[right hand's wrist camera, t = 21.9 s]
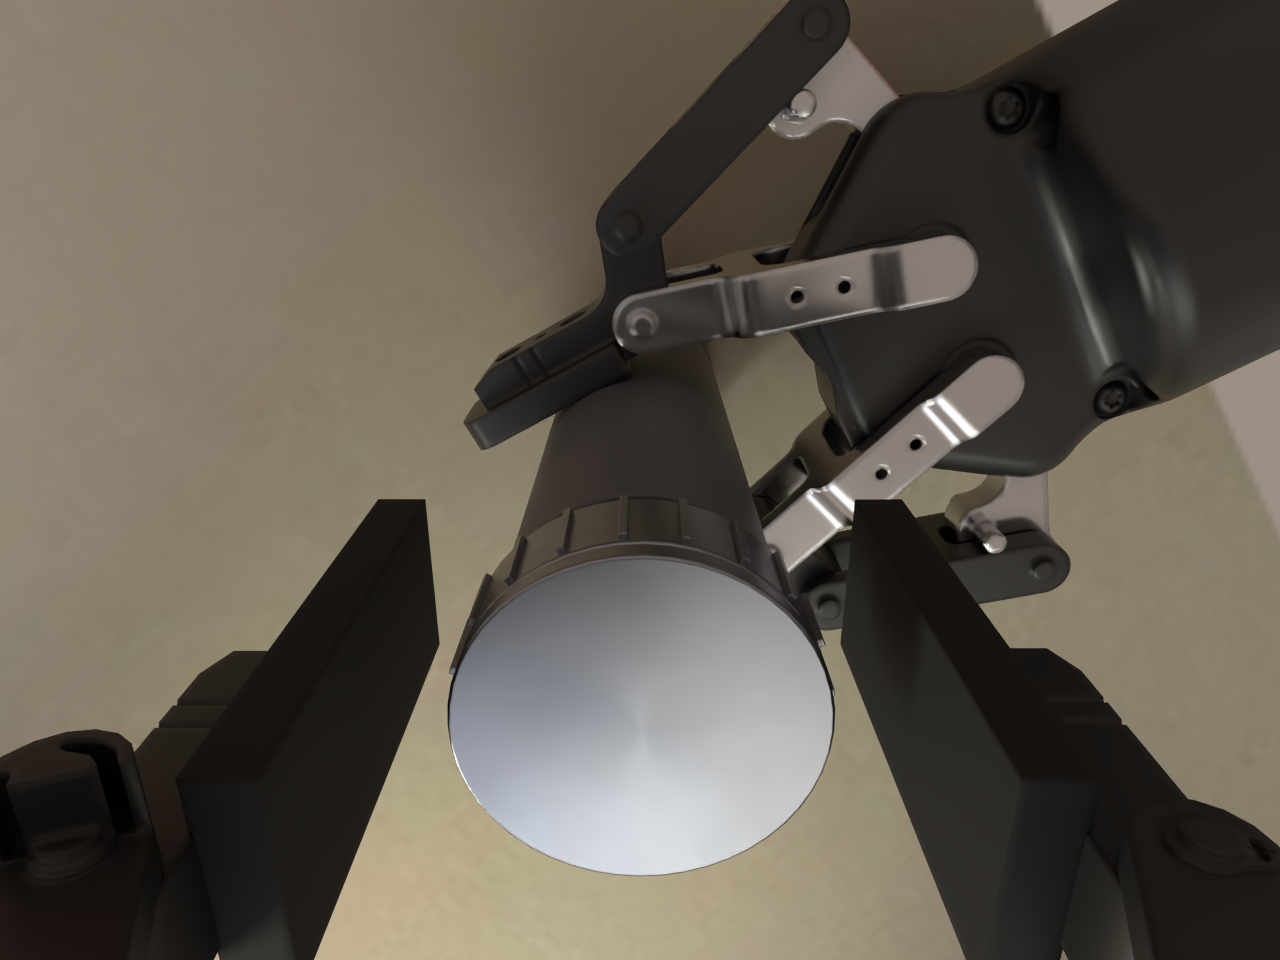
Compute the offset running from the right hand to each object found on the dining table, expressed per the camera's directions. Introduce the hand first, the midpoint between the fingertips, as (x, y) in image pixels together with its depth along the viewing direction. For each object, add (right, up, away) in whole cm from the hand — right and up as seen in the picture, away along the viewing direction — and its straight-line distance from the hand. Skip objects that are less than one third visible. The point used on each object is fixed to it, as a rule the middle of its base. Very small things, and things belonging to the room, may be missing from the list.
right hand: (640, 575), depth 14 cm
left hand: (-2, +1, +6) cm, 6 cm away
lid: (0, -1, -3) cm, 4 cm away
